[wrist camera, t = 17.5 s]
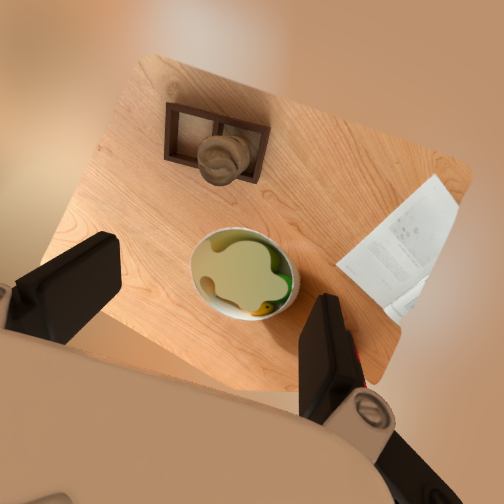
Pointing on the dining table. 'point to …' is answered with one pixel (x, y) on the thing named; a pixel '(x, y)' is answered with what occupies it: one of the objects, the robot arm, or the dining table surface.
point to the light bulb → (223, 158)
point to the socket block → (219, 122)
